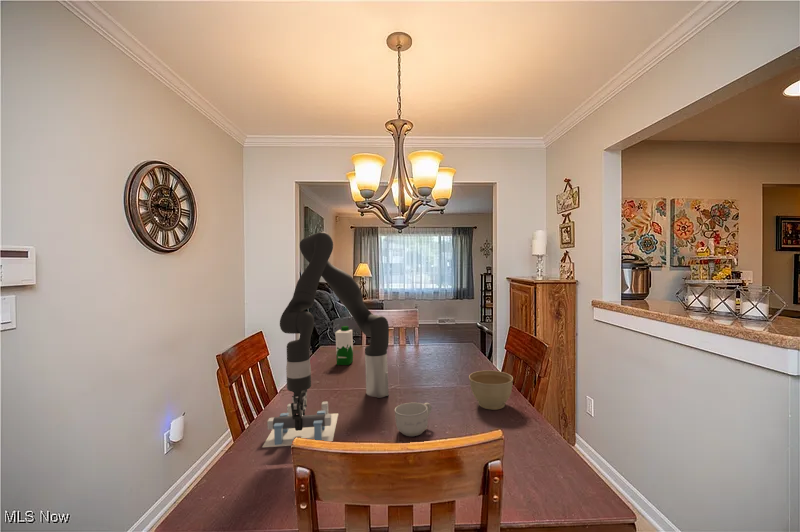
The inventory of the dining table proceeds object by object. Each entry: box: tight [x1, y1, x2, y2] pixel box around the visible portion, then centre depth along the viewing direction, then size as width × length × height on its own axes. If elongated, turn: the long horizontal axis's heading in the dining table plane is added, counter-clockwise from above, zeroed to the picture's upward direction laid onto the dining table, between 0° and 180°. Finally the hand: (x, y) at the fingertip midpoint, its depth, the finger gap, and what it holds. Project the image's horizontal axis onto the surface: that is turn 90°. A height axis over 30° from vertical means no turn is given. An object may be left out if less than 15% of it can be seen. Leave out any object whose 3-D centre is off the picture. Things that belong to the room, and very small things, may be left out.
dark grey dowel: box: [266, 413, 332, 430], centre depth 115 cm, size 20×4×4 cm, turn 94°
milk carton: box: [334, 325, 354, 366], centre depth 197 cm, size 9×9×20 cm
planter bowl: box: [468, 369, 514, 411], centre depth 136 cm, size 16×16×11 cm
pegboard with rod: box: [261, 400, 339, 449], centre depth 119 cm, size 21×21×6 cm
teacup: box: [394, 401, 432, 437], centre depth 117 cm, size 14×11×8 cm
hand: (300, 426), depth 115 cm, fingers closed on dark grey dowel, 3 cm apart
